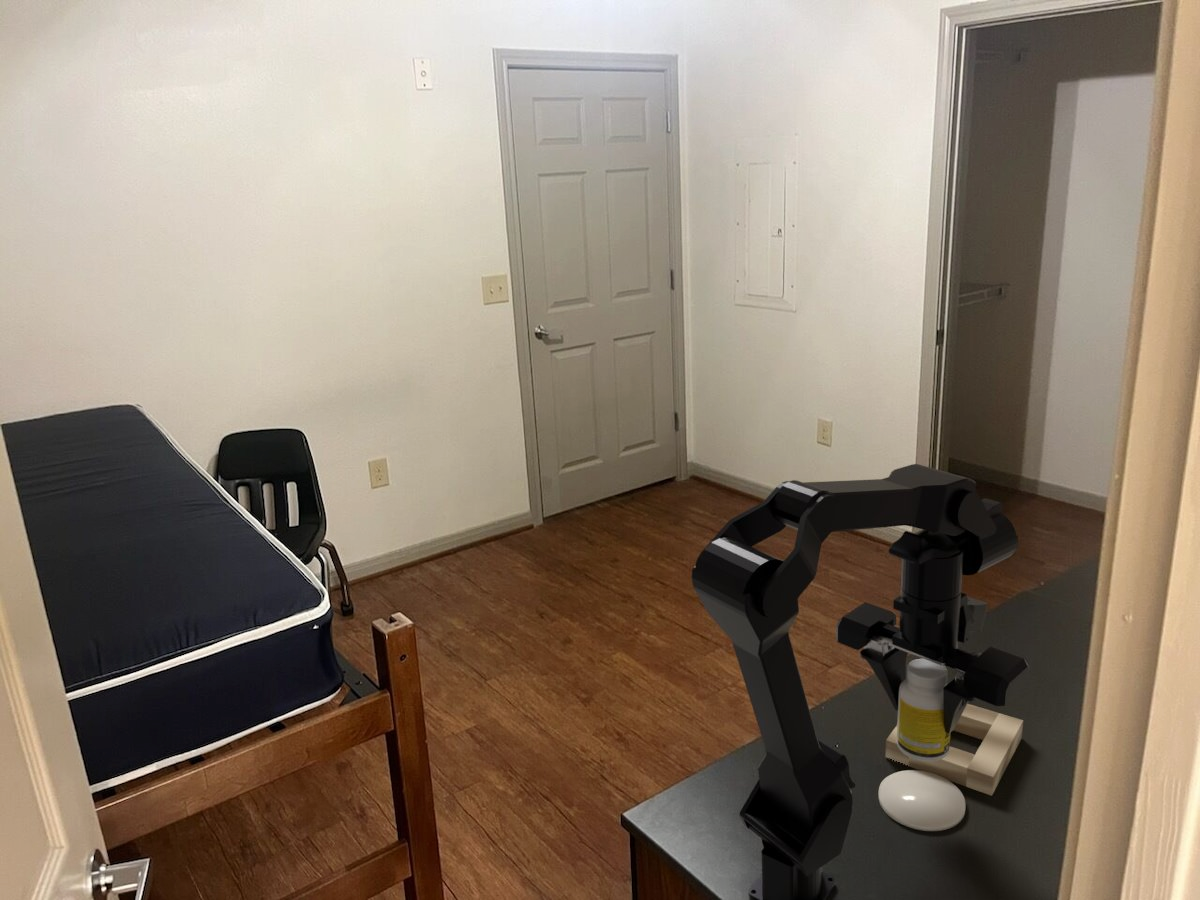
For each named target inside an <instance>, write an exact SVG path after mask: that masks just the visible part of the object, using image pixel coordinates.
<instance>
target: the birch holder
mask: <svg viewBox="0 0 1200 900" xmlns="http://www.w3.org/2000/svg"><path fill="white" fill-rule="evenodd" d="M1023 727H1024V720H1023V719H1020V718H1017V717H1014V716H1009V715H1007V714H1003V713H1000V712H996V711H994V710H991V709H987V708H983V707H980V706H977V705H974V704H970V703H968V704H967V705H966V707H965V709H964V711H963V713H962V715H961V717H960V719H959V721H958V722H957V724H956V726H955V728H954V730H953V731H954V732H956V733H960V734H963V735H966V736H969V737H972V738H975V739H978V740H982V742H981V744H980V745H979V747H978V748H977V750H976V752H975V754H974V753H972V752H968V751H965V750H962V749H960V748H956V747H954V746H951V745H950V748H949V752H948V754H947V756H946V757H944V758H943V759H941V760H938V761H931V762H925V761H919V760H915V759H912V758H910V757H908V756H906V755H905V754H904V753H903V752H902V751H901V750H900V749H899V748H898V746H897V725H896V726H895V727H894V728H893V730H892V731H891V732H890V734H889V735H888V737H887V738H886V740H885V758H886V757H887V758H890V759H892V760H891V761H893V760H894V761H893V762H896V761H897V762H896V763H898V762H900V763H899V764H901V763H903V764H902V765H904V764H905V766H907V765H908V766H907V767H910V768H913V769H914V770H918V771H925V772H930V773H933V774H936V775H939V776H941V777H943V778H945V779H947V780H948V781H950V782H951V783H953V784H957V785H961V786H964V787H965V788H969V789H972V790H974V791H977V792H980V793H983V794H986V795H988V796H991V797H992V796H993V794H994V793H995V791H996V789H997V787H998V785H999V783H1000V781H1001V779H1002V777H1003V775H1004V773H1005V772H1006V769H1007V768H1008V766H1009V763H1010V761H1011V759H1012V758H1013V756H1014V754H1015V752H1016V750H1017V748H1018V746H1019V744H1020V743H1021V740H1022V738H1023ZM953 731H952V732H953ZM887 758H886V759H887ZM890 759H889V760H890Z"/></svg>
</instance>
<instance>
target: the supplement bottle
mask: <svg viewBox="0 0 1200 900" xmlns="http://www.w3.org/2000/svg"><path fill="white" fill-rule="evenodd" d="M948 673H949V671H948V668H947V666H941V665H939V664H936V663H934V662H931V661H928V660H926V659H923V658H917V659H913V660H911V661H910V662H909V663H908V664H907V665H906V679H905V680H904V681H903V682H902V683H901V684H900V687H899V699H898V711H897V721H896V722H897V723H896V726H897V746H898V748H899V749H900V750H901V751H902V752H903V753H904V754H905V755H906V756H908V757H910V758H912V759H915V760H919V761H925V762H931V761H938V760H941V759H943V758H944V757H946V756H947V754H948V752H949V748H950V746H951V733H946V732H945V727H944V706H943V688H944V687H945V686H946V685H947V684H948Z"/></svg>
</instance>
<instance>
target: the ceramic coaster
mask: <svg viewBox="0 0 1200 900" xmlns="http://www.w3.org/2000/svg"><path fill="white" fill-rule="evenodd" d="M878 787H879V788H878V802H879V805H880V807H881V808H882V810H883V811H884V813H885V814H886V815H887V816H888V817H890V818H891V819H892V820H894V822H897V823H898V824H900V825H903V826H904V827H907V828H910V829H914V830H918V831H924V832H940V831H945V830H948V829H952V828H954V827H955V826H957V825H958V824H959V823H961V821H962V820H963V819H964V816H965V815H966V799H965V797H964V795H963V793H962V791H961V790H960V789H959V788H958V786H956V785H955V783H954V782H952V781H949V780H947V779H945V778H943V777H941V776H939V775H936V774H933V773H930V772H925V771H921V770H918V769H911V770H910V769H909V770H908V769H907V770H901V771H897V772H894V773H892V774H890V775H888V776H886V777H885V778H884V779H883V780H882V781H881V783H880V785H879V786H878Z"/></svg>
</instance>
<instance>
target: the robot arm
mask: <svg viewBox="0 0 1200 900" xmlns="http://www.w3.org/2000/svg"><path fill="white" fill-rule="evenodd" d="M976 487H977V482H976V481H975V480H974V479H972V478H969V477H966V476H962V475H957V474H954V473H951V472H948V471H943V470H940V469H937V468H933V467H931V466H930V467H929V466H926V465H922V464H918V463H912V464H908V465H906V466H902V467H899V468H896V469H893V470H892V471H891V472H890V474H889V475H888V476H887V477H884V478H881V479H879V478H876V479H858V480H857V479H856V480H855V479H854V480H853V479H852V480H832V481H831V480H830V481H827V480H826V481H810V482H808V481H807V482H803V481H799V480H797V479H796V480H795V479H793V480H785V481H782V482H781V483H779V484H778V485H777V486H776V487H775V488H774V489H773V490H772V492H771V493H770V494H769V495H768V496H767V497H766V499H764V501H762V502H760V503H758V504H756V505H754V506H752V507H751V508H749V509H747V510H745V511H744V512H741V513H740V514H738V515H736V516H734V517H732V518H731V519H729V520H728V521H727V522H726V523H725V524H724V526H723V527H722V528H721V529H720V530H719V532H717V534H716V535H714V537H713V538H712V539H711V541H709V543H708V544H707V545H706V546H705V547H704V549H702V551H701V552H700V554H699V555H698V557H697V558H696V562H695V565H694V566H693V568H692V569H691V582H692V587H693V589H694V591H695V593H696V595H697V597H698V598H699V601H700V602H701V604H702V605H703V607H704V609H705V610H706V612H707V614H708V615H709V616H710V617H711V618H712V620H713V621H714V622H715V623H716V625H718V626H719V628H720V629H721V630H722V631H723V633H725V635H726V636H727V637H728V638H729V640H730V641H731V643H732V646H733V649H734V652H735V655H736V659H737V663H738V665H739V669H740V671H741V674H742V678H743V681H744V684H745V687H746V690H747V693H748V697H749V700H750V704H751V707H752V710H753V713H754V716H755V720H756V723H757V727H758V729H759V732H760V735H761V739H762V742H763V745H764V748H765V754H764V756H763V757H762V759H761V761H760V762H759V763H758V766H757V771H758V780H757V782H756V784H755V785H754V787H753V789H752V790H751V792H750V793H749V796H748V798H747V799H746V801H745V802H744V804H743V806H742V807H741V809H740V811H739V813H738V814H739V817H740V819H741V822H742V824H743V826H744V827H745V828H747V829H748V830H750V831H751V832H753V833H754V834H755V835H757V836H758V837H759V838H760V839H761V852H760V853H761V855H760V856H761V858H760V859H761V861H760V863H761V873H760V875H759V876H758V877H757V878H756V880H755V881H754V882H753V883H752V885H751V887H750V888H749V889H748V892H747V893H748V897H749V898H750V899H751V900H827V898H828V897H829V895H830V893H831V892H832V890H833V889H834V887H835V886H836V878H835V877H834V876H832V875H830V874H829V873H825V872H823V866H825V865H827V864H828V863H829V862H831V861H832V860H834V859H835V858H836V857H838V856H840V855H841V853H842V850H843V848H844V847H843V846H844V843H845V839H846V836H847V831H848V828H849V824H850V821H851V817H852V812H853V803H854V801H853V792H852V790H851V789H854V788H856V784H855V782H853V780H852V778H851V774H850V764H849V762H848V759H847V757H846V755H845V754H843V753H841V752H840V751H838V750H837V749H835V748H834V747H832V746H831V745H830V744H828V743H826V742H824V741H822V740H821V739H819V738H818V736H817V733H816V729H815V725H814V722H813V719H812V714H811V711H810V710H811V709H810V707H809V703H808V701H807V695H806V692H805V688H804V685H803V681H802V679H801V678H802V677H801V674H800V670H799V667H798V663H797V660H796V656H795V653H794V649H793V645H792V642H791V638H790V633H789V631H790V629H791V628H792V626H793V624H794V622H795V621H796V618H797V617H798V614H799V612H800V607H799V598H800V596H801V595H802V594H803V593H804V591H805V590H806V589H807V588H808V587H809V586H810V584H811V583H812V582H813V580H814V579H815V577H816V576H817V571H818V566H819V561H820V554H821V547H822V544H823V543H824V542H825V540H826V539H827V538H828V536H829V535H830V534H831V533H836V532H844V531H859V530H869V529H879V528H880V529H881V528H889V527H890V528H891V527H901V526H908V527H911V528H912V527H913V528H917V529H920V530H918V531H916V532H914V533H913V532H910V531H908V530H905V531H903V533H902V535H901V536H900V538H898V539H897V540H895V541H894V542H892V543H891V546H890V547H889V548H888V551H887V552H888V554H889V555H890V556H893V557H896V558H899V559H901V573H900V574H901V575H900V576H901V577H900V578H901V581H900V595H899V596H897V597H896V598H895V599H893V607H892V609H893V610H896V611H898V612H899V623H898V624H899V625H898V627H897V626H896V625H897V615H896V614H895V613H894V612H893V611H892V610H889V609H886V608H883V607H880V606H877V605H875V604H872V603H870V602H866V601H864V602H863V603H862V604H860V605H859V606H857V607H855V608H854V609H852V610H851V611H849V612H848V613H846V614H844V615H843V616H842V617H840V618H839V619H838V621H837V624H836V625H835V627H836V629H835V632H836V635H835V636H836V637H835V639H836V642H837V643H838V644H841V645H844V646H846V647H848V648H851V649H854V650H856V651H859V650H860V651H859V655H860V658H862V659H863V660H866V662H867V663H868V664H869V666H870V667H871V669H872V671H873V672H874V674H875V676H876V677H877V679H878V680H879V682H880V683H881V686H882V687H883V690H885V693H886V695H887V697H888V699H889V700H890V703H891V704H892V706H893V709H894V710H895V711H897V712H898V699H899V687H900V684H901V683H902V682H903V681H904V680H905V679H906V678H907V663H906V662H907V657H908V654H911V655H913V656H916V657H918V658H920V659H926V660H928V661H931V662H934V663H936V664H939V665H941V666H945V667H949V668H951V669H954V675H955V676H954V678H953V679H952V680H951V681H950V682H947V685H946V686H945V687H944V688H943V706H944V727H945V732H946V733H951V732H952V733H953V730H954V728H955V726H956V724H957V722H958V721H959V719H960V717H961V715H962V713H963V711H964V709H965V707H966V705H967V704H969V702H973V701H976V699H978V700H979V701H982V702H985V703H988V704H990V705H993V706H995V707H1005V706H1007V705H1008V704H1009V702H1011V701H1012V700H1013V699H1014V698H1015V697H1016V696H1017V695H1018V694H1019V693H1020V692H1021V691H1023V690H1024V689H1025V688H1026V687H1027V686H1028V685H1029V684H1030V674H1031V668H1030V666H1029V664H1028V662H1027V661H1026V660H1025V658H1024V657H1021V656H1018V655H1015V654H1012V653H1009V652H1006V651H1003V650H1000V649H999V648H995V647H993V646H989V647H987V648H986V650H984V651H983V652H978V651H977V652H976V651H974V652H968V651H966V650H963V649H960V648H959V643H962V644H966V643H967V642H968V641H969V640H971V634H972V633H973V632H977V633H983V629H984V628H983V627H984V624H985V619H986V615H987V612H988V611H987V610H988V606H989V603H987V602H986V601H983V600H980V599H978V598H977V599H976V598H974V597H970V596H969V595H967V593H964V592H962V586H963V585H962V583H963V576H973V575H976V574H978V573H980V572H982V571H984V570H986V569H988V568H990V567H992V566H994V565H996V564H998V563H1000V562H1002V561H1004V560H1005V559H1006V560H1007V558H1010V557H1011V556H1012V555H1014V553H1015V552H1016V550H1017V547H1018V544H1019V536H1018V535H1017V532H1016V530H1015V527H1014V526H1013V523H1012V522H1011V520H1010V519H1009V518H1008V517H1007V516H1006V515H1005V514H1004V513H1002V512H1003V503H1002V502H999V501H996V500H993V499H989V498H983V499H982V498H981V496H980V495H979V493H978V492H977V488H976ZM786 527H789V528H791V529H794V530H797V532H796V538H795V541H794V542H795V543H794V547H793V550H792V551H791V552H790V553H789V555H788V556H787V557H786V558H785V559H784V560H782V559H780V558H778V557H775V556H774V555H771V554H768V553H766V552H764V551H762V550H761V549H757V548H756V547H754V546H755V545H757V544H759V543H761V542H763V541H764V540H766V539H768V538H770V537H773V536H775V535H776V534H778V533H780V532H781V531H783V530H784V529H785V528H786Z"/></svg>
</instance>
